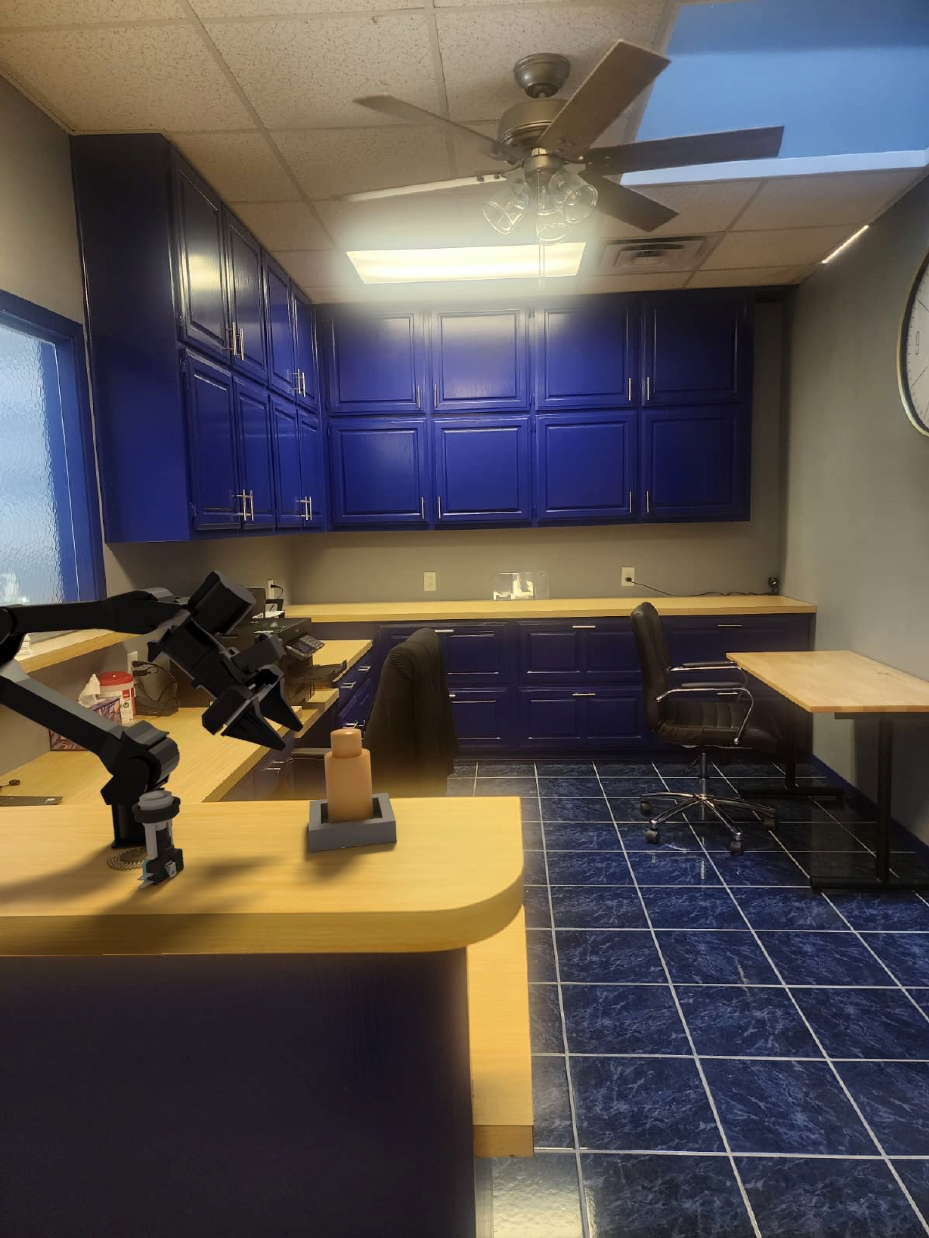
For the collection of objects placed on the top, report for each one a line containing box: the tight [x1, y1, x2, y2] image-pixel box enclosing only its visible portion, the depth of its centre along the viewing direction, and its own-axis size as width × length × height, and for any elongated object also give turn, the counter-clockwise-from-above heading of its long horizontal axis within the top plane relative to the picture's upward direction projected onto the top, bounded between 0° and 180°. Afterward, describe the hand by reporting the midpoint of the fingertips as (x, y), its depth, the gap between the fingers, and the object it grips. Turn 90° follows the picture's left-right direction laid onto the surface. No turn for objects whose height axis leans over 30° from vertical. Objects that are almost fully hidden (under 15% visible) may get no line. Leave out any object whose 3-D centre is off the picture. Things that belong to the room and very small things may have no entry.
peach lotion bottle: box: [323, 727, 374, 824], centre depth 98 cm, size 6×6×13 cm
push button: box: [132, 789, 185, 889], centre depth 86 cm, size 7×5×10 cm
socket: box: [308, 792, 398, 853], centre depth 98 cm, size 11×11×3 cm
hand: (293, 738), depth 97 cm, fingers open, 9 cm apart
